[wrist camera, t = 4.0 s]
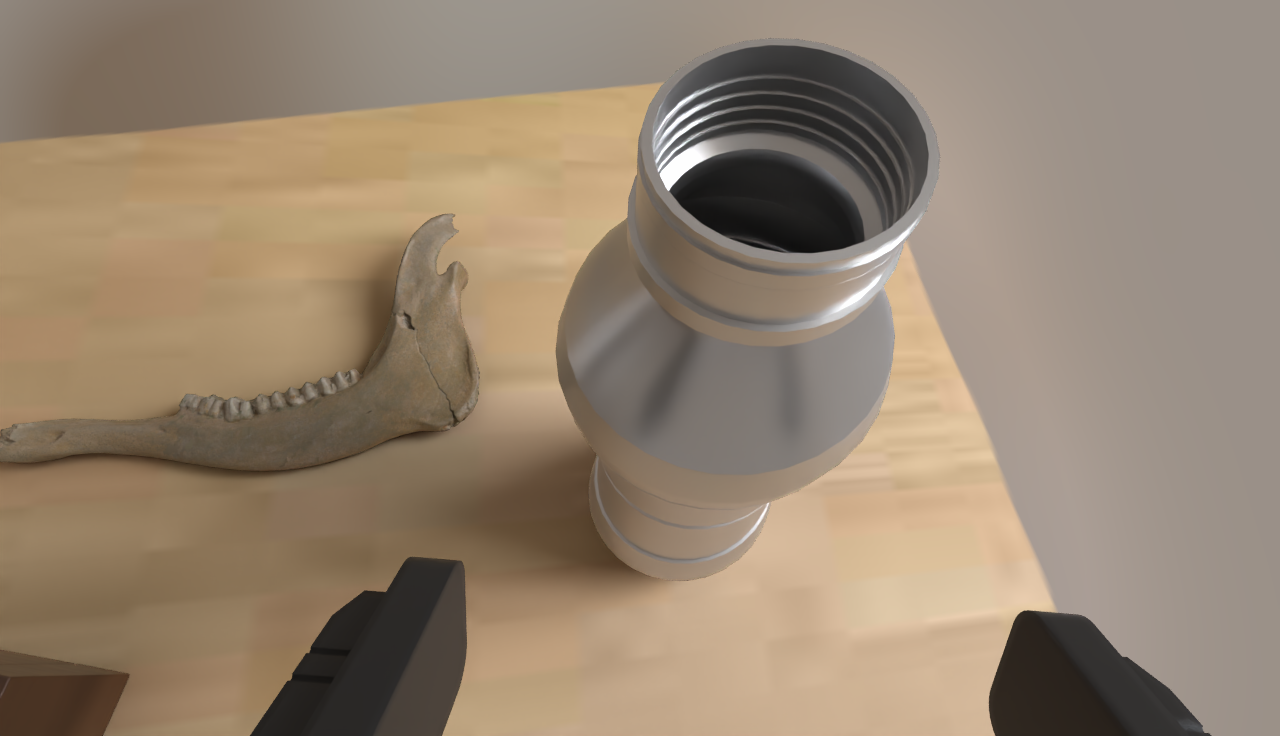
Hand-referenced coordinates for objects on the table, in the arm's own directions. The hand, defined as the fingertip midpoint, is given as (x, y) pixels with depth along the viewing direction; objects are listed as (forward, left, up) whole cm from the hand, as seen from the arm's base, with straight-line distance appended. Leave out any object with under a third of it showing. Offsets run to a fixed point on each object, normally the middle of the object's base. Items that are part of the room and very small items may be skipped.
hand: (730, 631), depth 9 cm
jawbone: (-19, +9, -16) cm, 26 cm away
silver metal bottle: (0, +5, -16) cm, 17 cm away
